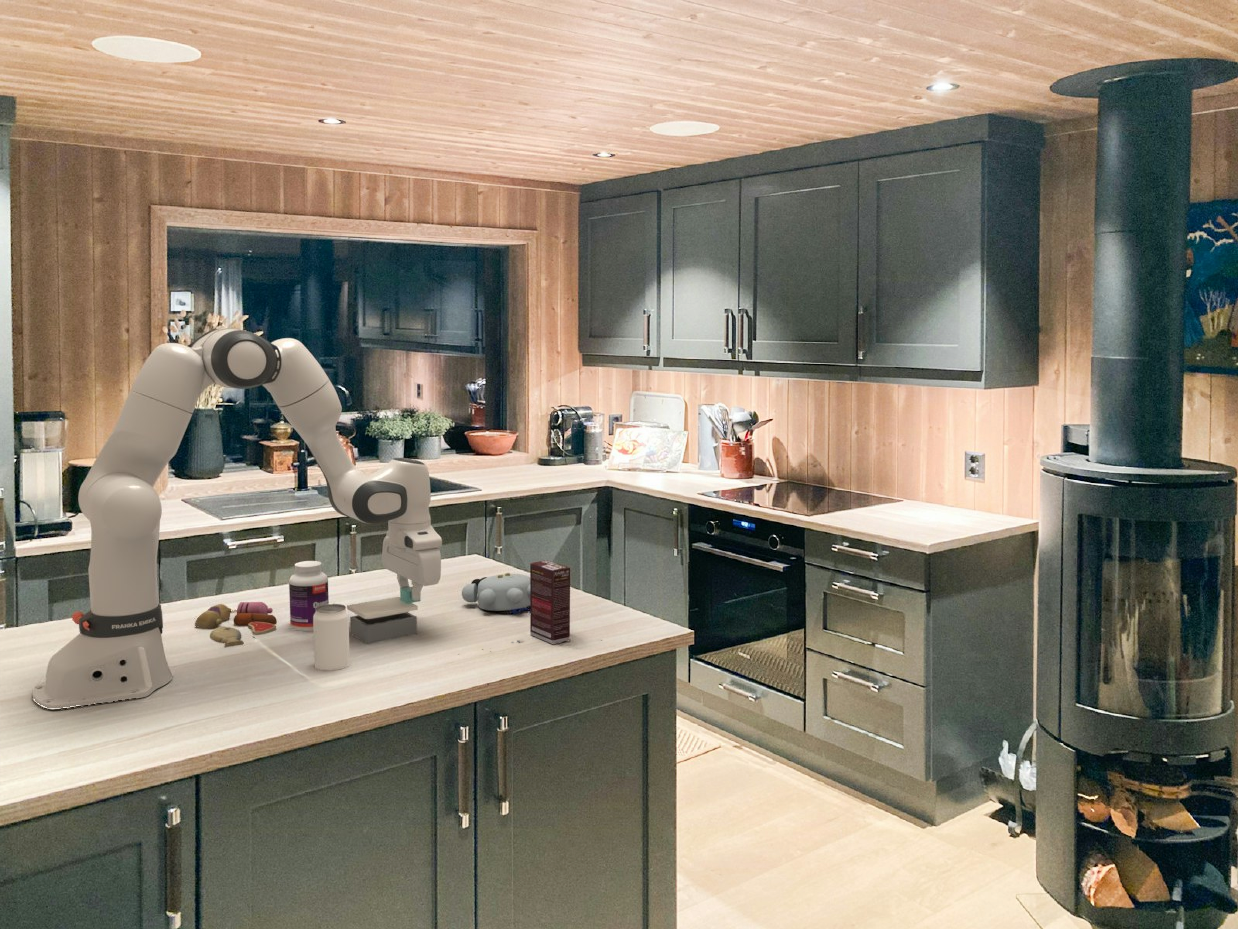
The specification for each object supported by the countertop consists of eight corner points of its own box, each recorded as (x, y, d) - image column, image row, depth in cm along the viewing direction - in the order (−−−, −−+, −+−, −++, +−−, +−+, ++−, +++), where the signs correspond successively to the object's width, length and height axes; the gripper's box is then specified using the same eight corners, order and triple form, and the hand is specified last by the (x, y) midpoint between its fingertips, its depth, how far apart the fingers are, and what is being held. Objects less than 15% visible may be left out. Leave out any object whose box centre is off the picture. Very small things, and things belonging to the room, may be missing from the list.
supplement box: (571, 640, 213) (571, 567, 211) (552, 645, 210) (552, 570, 208) (547, 630, 219) (547, 559, 217) (529, 635, 216) (528, 562, 214)
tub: (367, 647, 207) (367, 626, 206) (350, 637, 213) (350, 616, 212) (417, 637, 214) (416, 616, 213) (399, 627, 220) (398, 607, 219)
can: (331, 676, 190) (329, 614, 188) (307, 670, 193) (305, 609, 192) (356, 667, 195) (355, 606, 194) (333, 660, 199) (331, 601, 197)
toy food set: (182, 621, 224) (181, 604, 224) (254, 608, 235) (253, 591, 234) (224, 651, 205) (224, 631, 205) (301, 635, 216) (301, 617, 215)
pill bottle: (318, 635, 214) (316, 569, 212) (283, 633, 216) (281, 567, 213) (336, 624, 222) (334, 560, 220) (302, 622, 223) (300, 558, 221)
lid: (365, 622, 205) (364, 602, 205) (347, 611, 212) (346, 593, 212) (427, 610, 214) (426, 592, 214) (407, 601, 221) (407, 583, 220)
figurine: (559, 606, 237) (504, 597, 251) (556, 570, 237) (502, 564, 251) (502, 621, 225) (448, 611, 239) (499, 583, 224) (445, 576, 238)
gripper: (374, 527, 220) (375, 588, 222) (418, 544, 205) (419, 610, 206) (400, 524, 224) (401, 584, 226) (446, 540, 208) (446, 605, 210)
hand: (410, 597), depth 216 cm, fingers closed on lid, 3 cm apart
